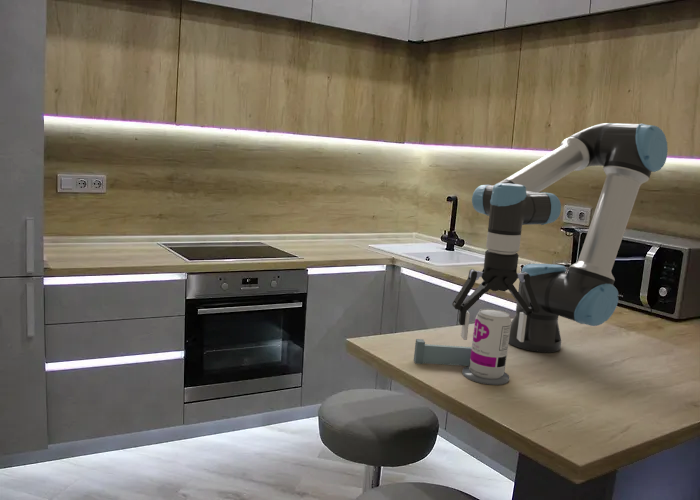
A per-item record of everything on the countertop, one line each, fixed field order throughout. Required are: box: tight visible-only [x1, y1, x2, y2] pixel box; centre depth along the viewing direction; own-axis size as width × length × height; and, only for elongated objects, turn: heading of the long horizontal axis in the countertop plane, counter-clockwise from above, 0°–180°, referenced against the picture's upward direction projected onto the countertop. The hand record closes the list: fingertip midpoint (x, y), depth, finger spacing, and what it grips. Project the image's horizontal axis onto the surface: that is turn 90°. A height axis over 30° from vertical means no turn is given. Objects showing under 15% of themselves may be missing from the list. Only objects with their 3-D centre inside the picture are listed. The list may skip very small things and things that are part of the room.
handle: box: [413, 338, 472, 367], centre depth 159 cm, size 20×2×6 cm, turn 95°
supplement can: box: [469, 308, 512, 379], centre depth 152 cm, size 8×8×15 cm
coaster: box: [461, 366, 510, 386], centre depth 153 cm, size 11×11×1 cm
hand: (492, 339), depth 152 cm, fingers open, 13 cm apart
